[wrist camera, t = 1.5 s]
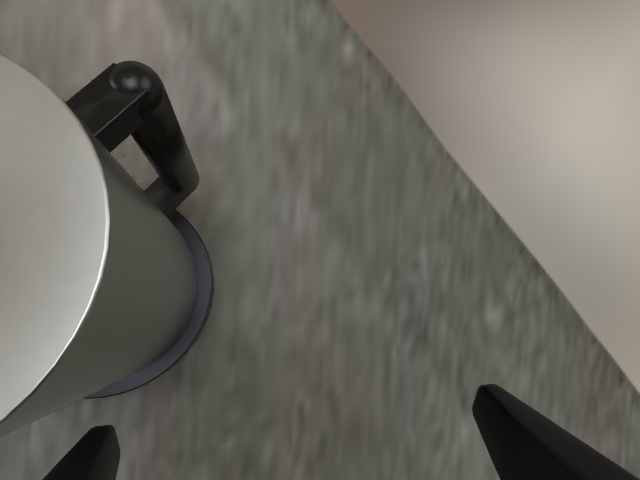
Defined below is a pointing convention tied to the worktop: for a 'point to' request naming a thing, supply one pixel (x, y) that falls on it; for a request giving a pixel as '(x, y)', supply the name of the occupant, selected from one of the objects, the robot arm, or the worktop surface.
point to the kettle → (92, 242)
